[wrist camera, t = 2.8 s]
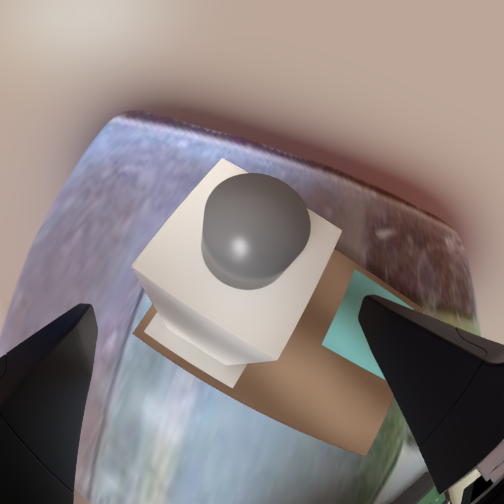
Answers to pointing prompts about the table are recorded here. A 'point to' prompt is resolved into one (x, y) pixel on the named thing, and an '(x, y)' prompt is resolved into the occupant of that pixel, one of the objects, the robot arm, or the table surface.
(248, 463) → the table surface
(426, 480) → the disk drive
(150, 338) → the board
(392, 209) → the table surface
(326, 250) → the capped white bottle
